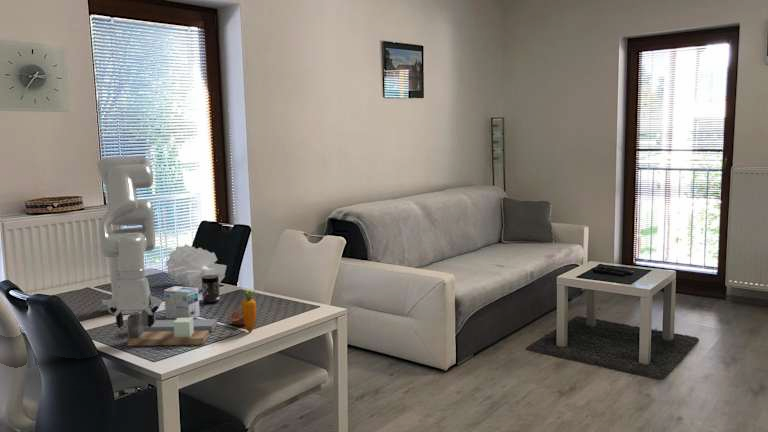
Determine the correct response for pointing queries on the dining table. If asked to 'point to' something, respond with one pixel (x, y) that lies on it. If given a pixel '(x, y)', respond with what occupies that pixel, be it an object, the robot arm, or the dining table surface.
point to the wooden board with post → (159, 335)
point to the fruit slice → (236, 317)
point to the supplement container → (210, 289)
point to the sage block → (183, 327)
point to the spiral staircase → (193, 266)
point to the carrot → (249, 311)
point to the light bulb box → (181, 302)
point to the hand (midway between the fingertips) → (135, 326)
